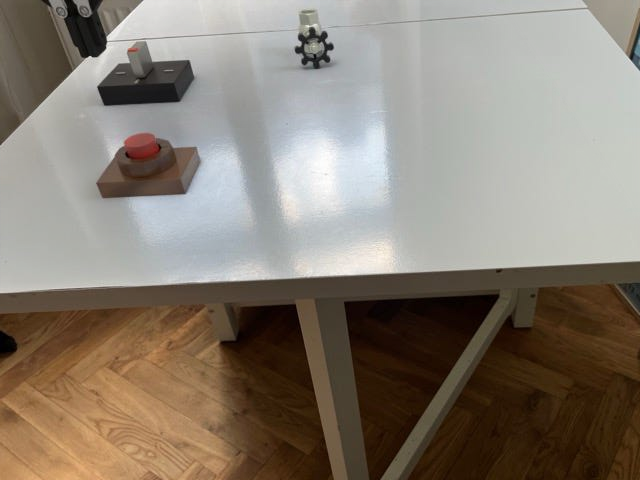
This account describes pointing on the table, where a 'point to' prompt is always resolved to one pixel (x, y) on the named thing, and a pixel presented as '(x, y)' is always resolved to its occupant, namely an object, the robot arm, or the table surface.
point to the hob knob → (140, 59)
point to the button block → (150, 172)
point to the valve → (312, 38)
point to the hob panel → (147, 83)
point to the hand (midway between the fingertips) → (94, 53)
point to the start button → (141, 146)
